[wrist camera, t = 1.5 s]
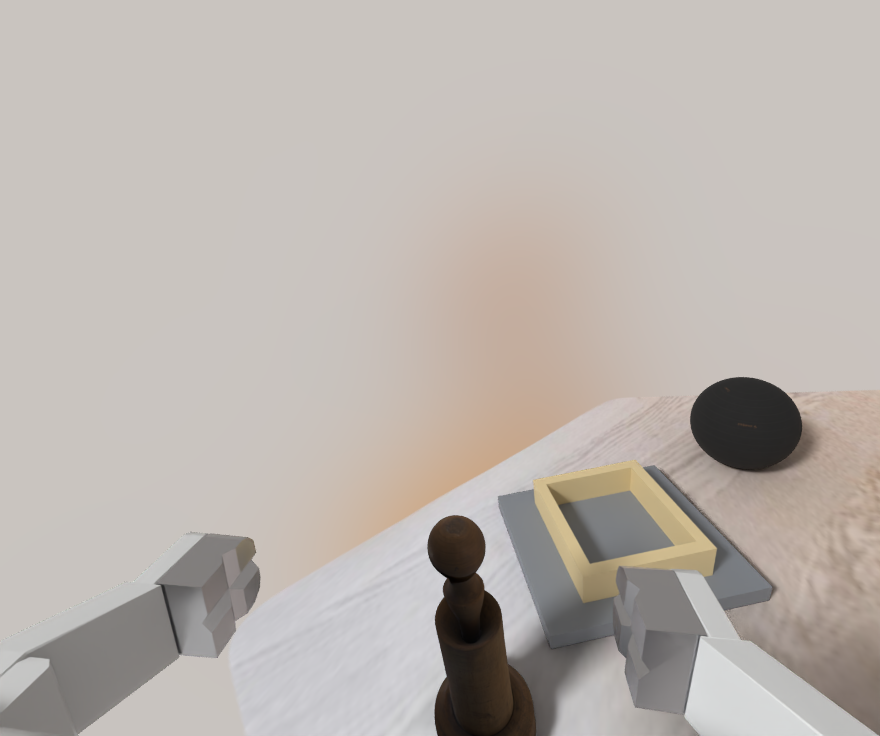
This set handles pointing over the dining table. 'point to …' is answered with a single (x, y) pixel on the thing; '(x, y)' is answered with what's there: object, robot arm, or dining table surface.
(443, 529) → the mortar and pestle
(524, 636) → the dining table surface
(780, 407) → the speaker
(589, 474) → the holder
